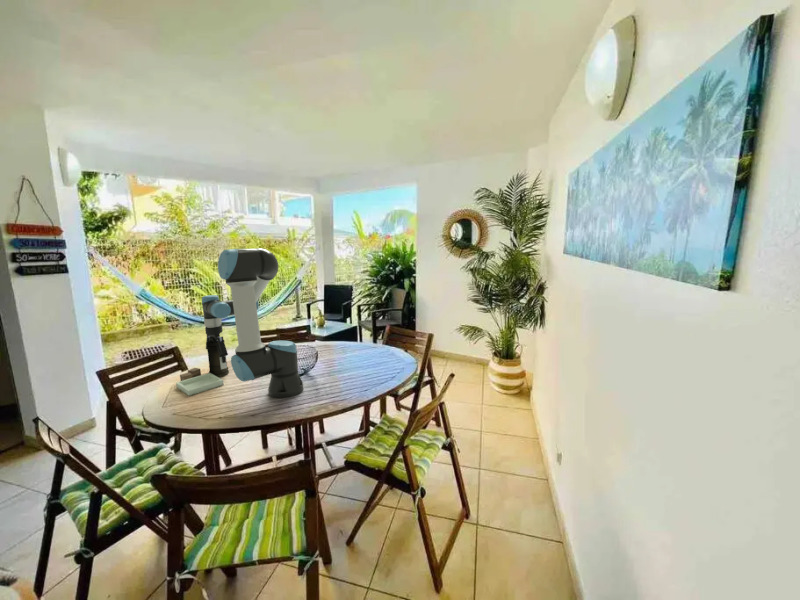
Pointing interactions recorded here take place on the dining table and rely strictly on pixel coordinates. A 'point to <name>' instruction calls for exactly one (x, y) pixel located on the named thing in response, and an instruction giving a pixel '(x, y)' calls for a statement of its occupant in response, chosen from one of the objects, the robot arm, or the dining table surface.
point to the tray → (199, 384)
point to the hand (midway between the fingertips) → (218, 365)
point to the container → (215, 360)
